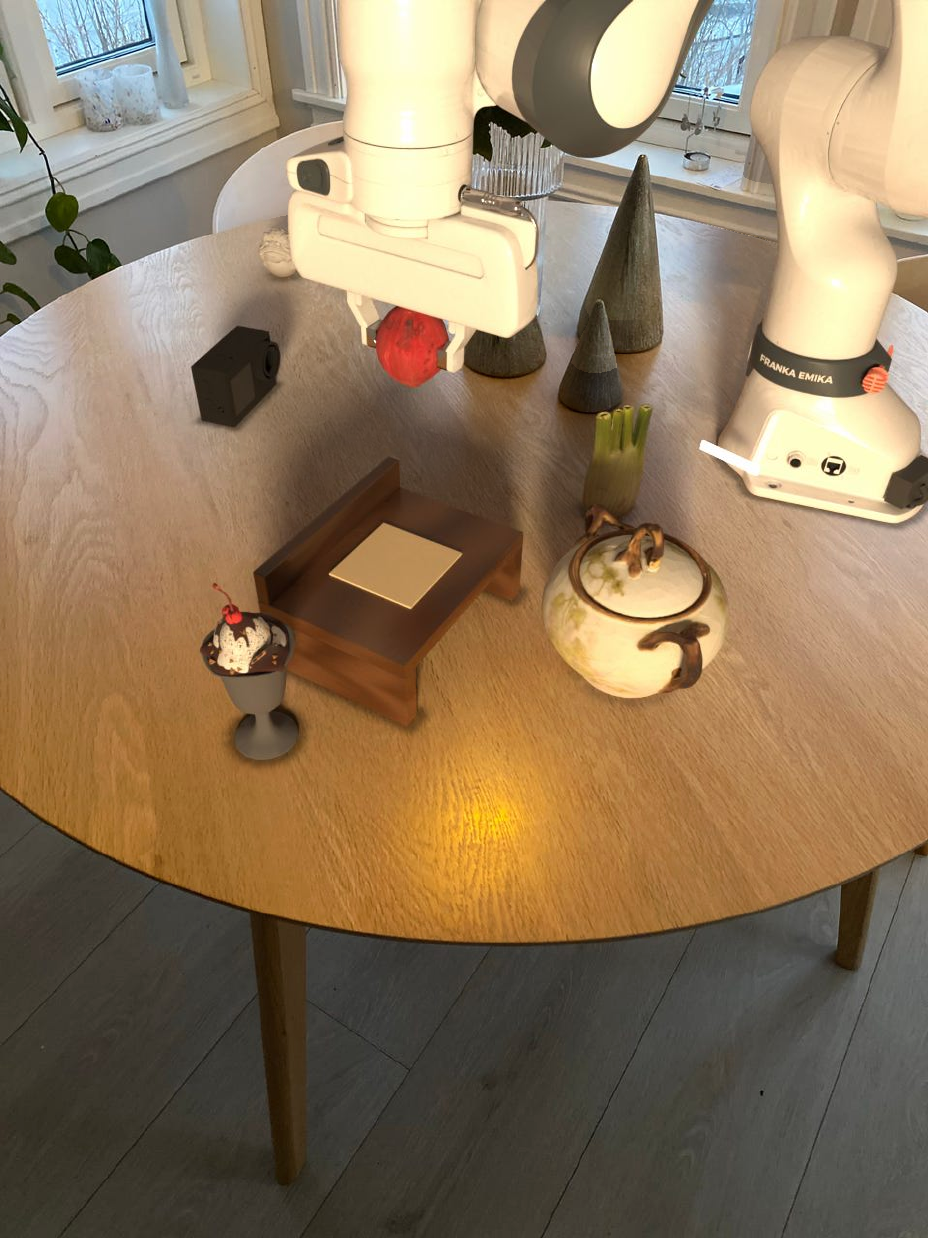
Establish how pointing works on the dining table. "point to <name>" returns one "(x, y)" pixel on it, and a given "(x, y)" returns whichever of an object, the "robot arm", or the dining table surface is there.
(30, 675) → the dining table surface
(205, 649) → the sundae
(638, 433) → the fennel bulb
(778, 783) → the dining table surface
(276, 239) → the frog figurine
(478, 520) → the shelf
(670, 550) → the sugar bowl
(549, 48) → the robot arm
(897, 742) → the dining table surface
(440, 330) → the pomegranate
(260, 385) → the digital camera
